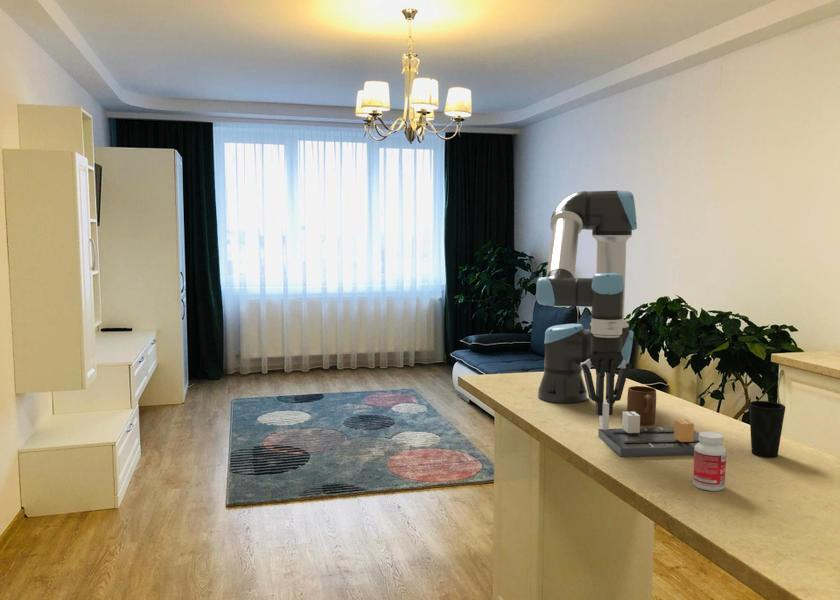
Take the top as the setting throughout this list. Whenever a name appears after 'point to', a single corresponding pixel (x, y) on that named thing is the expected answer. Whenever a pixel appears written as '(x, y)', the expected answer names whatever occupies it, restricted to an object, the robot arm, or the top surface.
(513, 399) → the top surface
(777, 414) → the cup
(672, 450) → the console
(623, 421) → the fader
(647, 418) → the mug
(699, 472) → the pill bottle
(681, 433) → the fader
